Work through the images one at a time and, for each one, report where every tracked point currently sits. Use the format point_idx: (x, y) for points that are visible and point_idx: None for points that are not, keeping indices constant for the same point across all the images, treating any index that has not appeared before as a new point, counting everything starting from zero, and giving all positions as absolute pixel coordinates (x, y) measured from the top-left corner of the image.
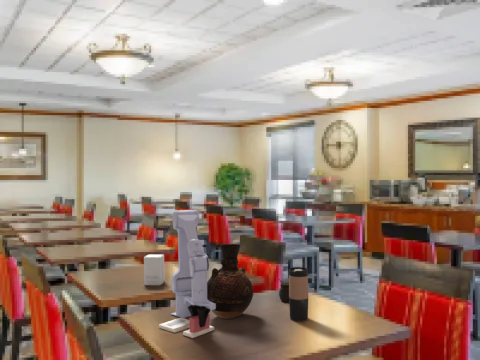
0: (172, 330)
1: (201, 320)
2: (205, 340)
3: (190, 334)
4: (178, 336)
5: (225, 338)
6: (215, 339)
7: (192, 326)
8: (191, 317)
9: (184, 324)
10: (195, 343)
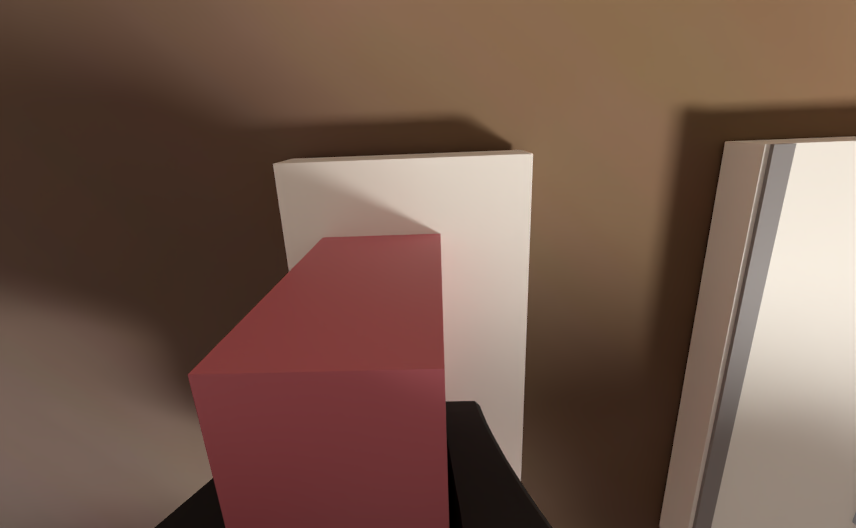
0: (807, 140)
1: (184, 509)
2: (102, 229)
3: (331, 159)
4: (548, 61)
5: (17, 434)
6: (56, 340)
7: (341, 272)
8: (420, 440)
9: (772, 415)
10: (77, 29)
